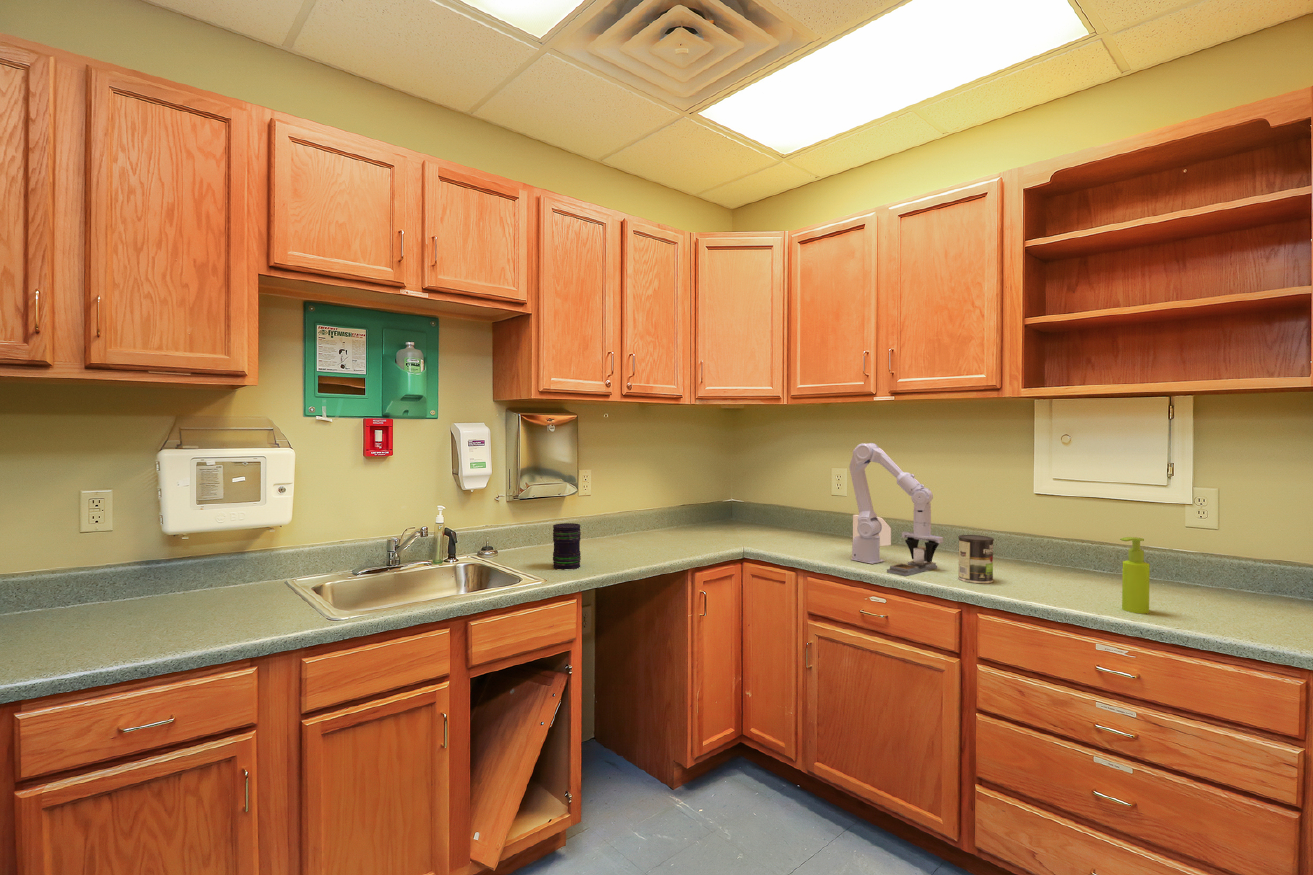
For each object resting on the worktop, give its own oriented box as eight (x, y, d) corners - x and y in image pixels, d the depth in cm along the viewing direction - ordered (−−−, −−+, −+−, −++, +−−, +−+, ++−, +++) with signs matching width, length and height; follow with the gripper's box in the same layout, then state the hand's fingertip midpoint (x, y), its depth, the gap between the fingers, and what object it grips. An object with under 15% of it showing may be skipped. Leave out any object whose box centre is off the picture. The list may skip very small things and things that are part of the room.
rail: (886, 572, 216) (886, 566, 216) (918, 564, 228) (918, 559, 228) (905, 576, 211) (905, 570, 211) (937, 568, 223) (937, 562, 222)
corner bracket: (852, 542, 274) (853, 514, 274) (874, 540, 277) (875, 513, 277) (868, 546, 264) (868, 518, 263) (890, 545, 267) (891, 517, 267)
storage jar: (547, 568, 222) (547, 526, 222) (563, 562, 230) (563, 522, 230) (570, 571, 217) (570, 528, 217) (586, 565, 226) (586, 524, 226)
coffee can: (998, 580, 205) (999, 537, 205) (984, 585, 198) (985, 541, 198) (966, 574, 213) (966, 533, 213) (952, 579, 206) (952, 536, 206)
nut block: (913, 564, 223) (913, 547, 223) (919, 563, 226) (919, 545, 226) (923, 567, 220) (924, 548, 220) (930, 565, 223) (930, 547, 222)
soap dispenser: (1113, 607, 174) (1113, 535, 174) (1136, 607, 174) (1137, 535, 174) (1130, 613, 168) (1131, 539, 168) (1154, 613, 168) (1155, 539, 168)
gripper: (947, 523, 219) (947, 562, 219) (909, 519, 231) (909, 555, 231) (937, 525, 215) (936, 565, 215) (898, 520, 227) (898, 558, 227)
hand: (921, 560), depth 223 cm, fingers open, 5 cm apart
